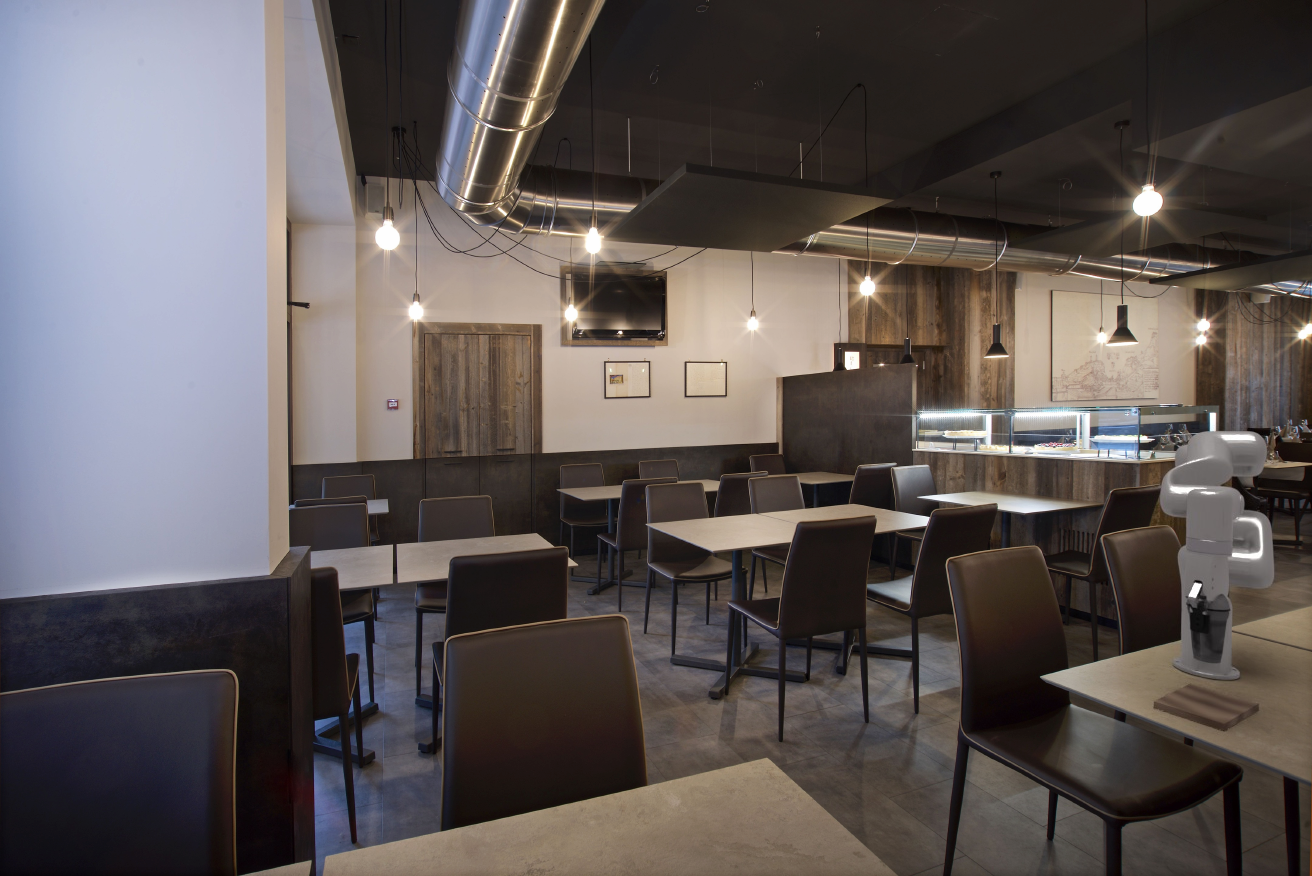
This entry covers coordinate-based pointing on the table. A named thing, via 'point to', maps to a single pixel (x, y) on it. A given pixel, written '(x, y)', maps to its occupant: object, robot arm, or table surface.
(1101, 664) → the table surface
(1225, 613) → the beverage cup
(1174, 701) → the serving board
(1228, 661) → the robot arm
